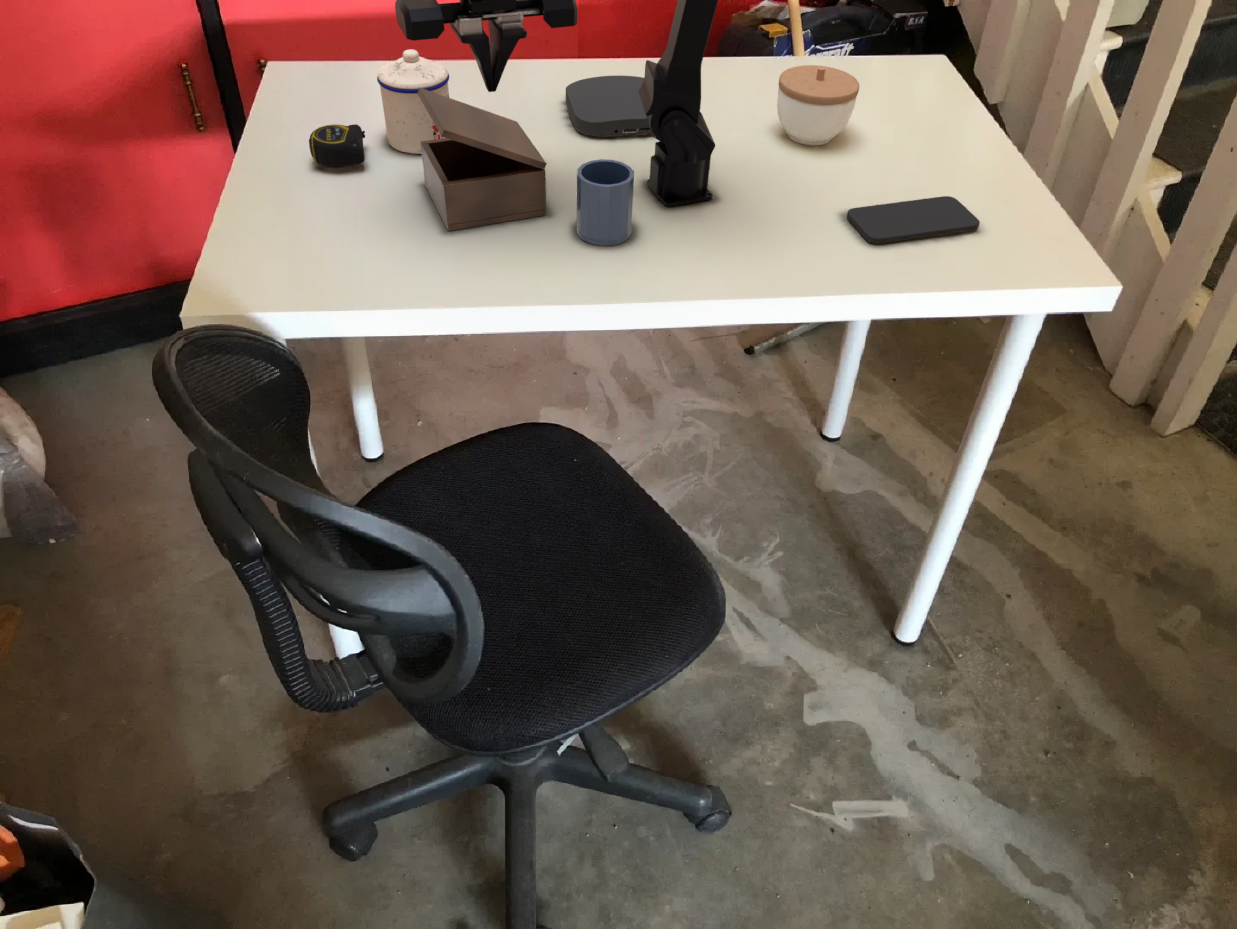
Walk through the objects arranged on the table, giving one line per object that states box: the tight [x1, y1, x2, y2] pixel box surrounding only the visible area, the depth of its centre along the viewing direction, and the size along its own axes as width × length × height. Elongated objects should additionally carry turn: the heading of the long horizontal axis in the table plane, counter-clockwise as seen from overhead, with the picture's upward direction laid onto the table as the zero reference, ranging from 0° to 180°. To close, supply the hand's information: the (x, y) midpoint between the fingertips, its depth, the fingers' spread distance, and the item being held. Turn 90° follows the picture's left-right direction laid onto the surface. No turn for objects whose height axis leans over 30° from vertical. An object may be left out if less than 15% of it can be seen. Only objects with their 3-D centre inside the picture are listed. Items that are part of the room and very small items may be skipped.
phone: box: [846, 195, 981, 245], centre depth 114 cm, size 7×1×15 cm
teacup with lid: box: [376, 48, 450, 155], centre depth 123 cm, size 12×9×12 cm
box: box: [420, 138, 547, 232], centre depth 113 cm, size 12×12×6 cm
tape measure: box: [308, 123, 366, 169], centre depth 119 cm, size 7×7×4 cm
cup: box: [576, 158, 635, 247], centre depth 108 cm, size 6×6×8 cm
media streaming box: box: [565, 75, 653, 137], centre depth 132 cm, size 15×15×3 cm
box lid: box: [418, 88, 547, 170], centre depth 109 cm, size 13×12×1 cm
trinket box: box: [776, 64, 860, 147], centre depth 128 cm, size 11×11×9 cm
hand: (491, 90), depth 106 cm, fingers closed
